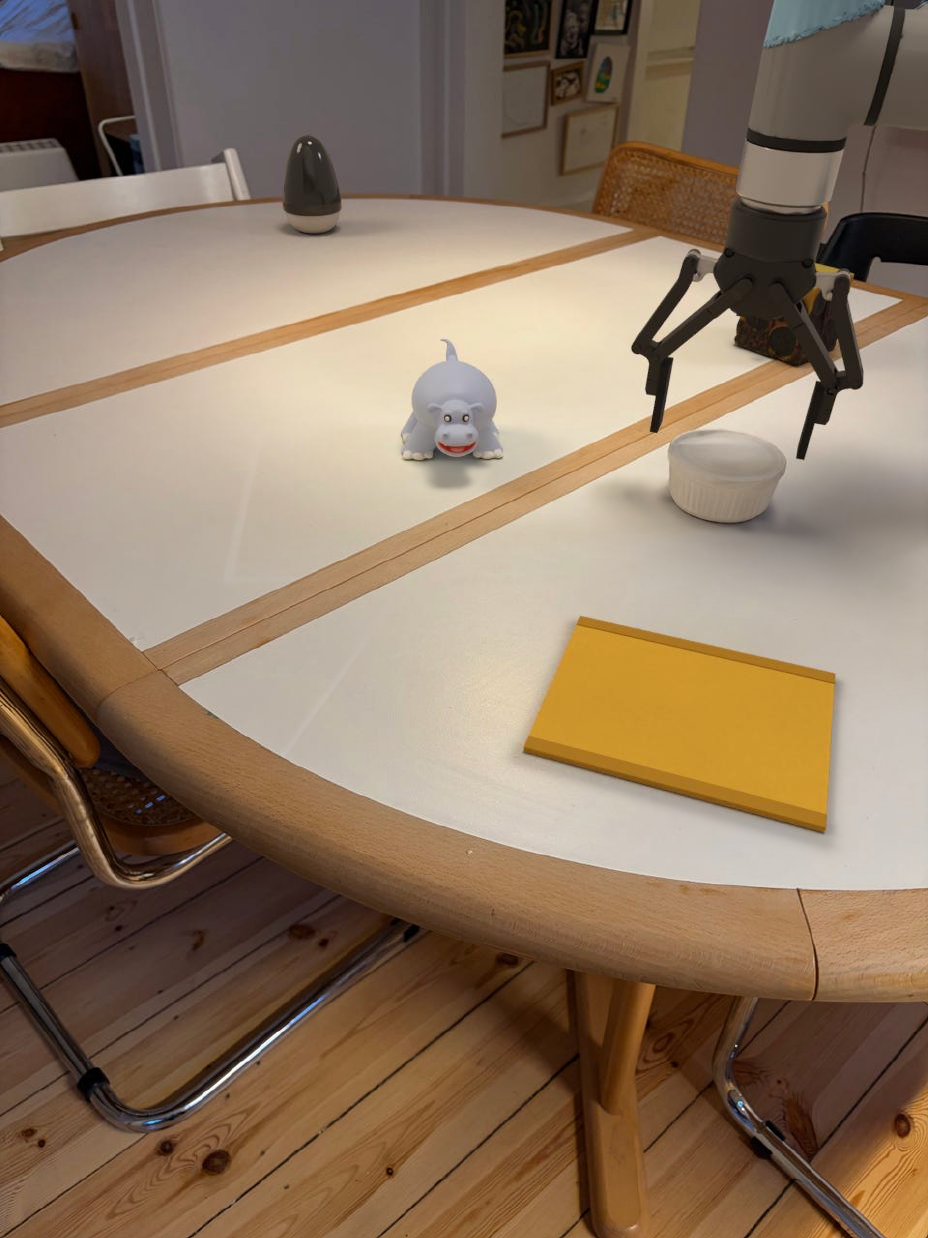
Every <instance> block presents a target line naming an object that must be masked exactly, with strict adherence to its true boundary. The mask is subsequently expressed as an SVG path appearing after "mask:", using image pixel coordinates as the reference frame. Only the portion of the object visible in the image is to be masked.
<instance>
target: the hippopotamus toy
mask: <svg viewBox="0 0 928 1238" xmlns="http://www.w3.org/2000/svg"><path fill="white" fill-rule="evenodd" d="M439 341H440V342H444V343H446V350H445V360H444V361H440V362H437V363H435V364H433V365H431V366H429V368H428V369H426V370H425V371H424V372H423V373H422V374H421V375H420V376H419V377H418V379H417V380H416V381H415V383H414V386H413V388H412V392H411V408H412V411H411V413H410V415H409V417H408V418H407V420H406V422H405V424H404V426H403V427H402V429H401V431H400V435H401V437H402V441H403V443H404V445H403V446H402V448H401V453H402V458H403V459H404V460H415V461H423V460H424V459H432V458H434V451H435V448H436V447H437V449H438V450H439V451H440V452H441V453H443V454H445V455H447V456H450V457H454V458H461V457H464V456H467V455H469V454H471V453H472V456H473V457H474V458H476V459H477V458H479V459H480V458H482V459H483V460H490V459H493V458H495V459H498V458H500V459H501V458H503V457H504V452H503V451H504V449H503V446H502V444H501V443H500V441H499V439H500V438H499V429H498V428H497V426H496V424H495V422H494V421H493V420H494V419H493V418H494V417H495V415H496V411H497V404H498V398H497V397H498V396H497V393H496V389H495V387H494V384H493V382H491V380H490V378H489V377H488V376H487V375H486V373H484V372H483V371H482V370H480V369H479V368H477V367H476V366H474V365H472V364H470V363H468V362H465V361H461V360H459V358H458V353H457V350H456V348H455V346H454V344H453V343H452V341H450V340H449V339H448V338H441V339H440V340H439Z"/></svg>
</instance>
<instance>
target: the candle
mask: <svg viewBox="0 0 928 1238" xmlns="http://www.w3.org/2000/svg"><path fill="white" fill-rule="evenodd" d="M815 268H816V271H817V272H833V273H836V272H837V271H838V270H840V269H841V268H837V267H833V266H828V265H824V264H821V263H816V262H815ZM854 277H855V273H853V272H850V285H849V292H848V295H849V294H850V292H851V286H852V284H853V282H854V281H853V280H854ZM801 301H802V303H803V305H804V307H805V309H806V312H807V315H808V317H809V318H810V320H811V322H812V324H813V326H814V328H815V329H816V331H817V333H818V335H819V337H820V338H821V340H822V342H823V344H824V346H825V348H826V349H827V351H828V352H829V351H831V350H834V349H835V348H836V346H837V341H838V338H837V333H836V329H835V324H834V320H833V316H832V310H831V302H832V301H828V300H825V299H824V298H823V296H822V291H821V290H820V289H819V288H817V287H814V289H813V290H812V291H811V292H810V293H809V294H807V295H806V296H805V297H804V298H803V299H802V300H801ZM733 341H734V345H737V346H738V347H740V348H742V349H743V348H744V349H747V350H750V351H752V352H755V353H757V354H759V355H760V354H761V355H764V356H767V357H771V358H775V359H778V360H781V361H783V362H785V363H788V364H790V365H792V366H800V365H801V364H804V363H805V362H809V360H808V358H807V356H806V355H805V353H804V351H803V349H802V347H801V346H800V344H799V342H798V340H797V339H796V337H795V335H794V333H793V331H792V330H790V329H789V327H788V325H787V323H786V322H785V320H784V318H783V316H782V317H780V318H778V319H773V321H767V320H762V319H760V318H758V317H755V316H752V317H740V316H739V318H738V321H737V323H736V328H735V336H734V338H733Z"/></svg>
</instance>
